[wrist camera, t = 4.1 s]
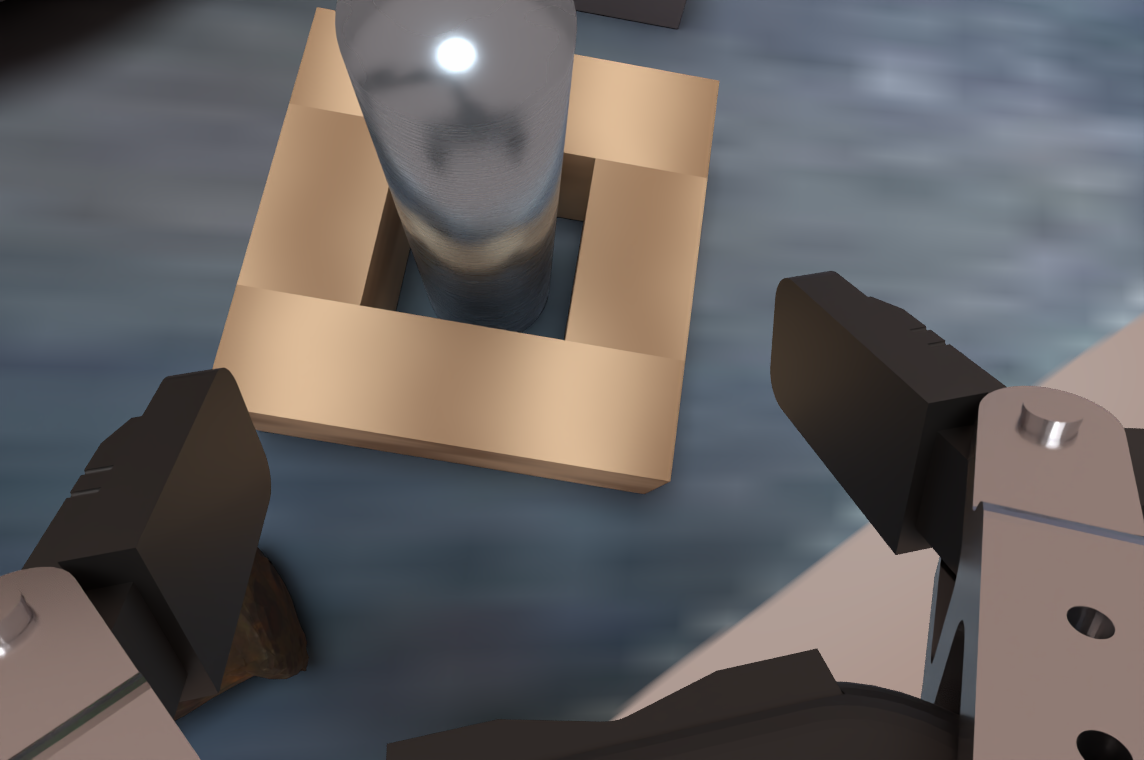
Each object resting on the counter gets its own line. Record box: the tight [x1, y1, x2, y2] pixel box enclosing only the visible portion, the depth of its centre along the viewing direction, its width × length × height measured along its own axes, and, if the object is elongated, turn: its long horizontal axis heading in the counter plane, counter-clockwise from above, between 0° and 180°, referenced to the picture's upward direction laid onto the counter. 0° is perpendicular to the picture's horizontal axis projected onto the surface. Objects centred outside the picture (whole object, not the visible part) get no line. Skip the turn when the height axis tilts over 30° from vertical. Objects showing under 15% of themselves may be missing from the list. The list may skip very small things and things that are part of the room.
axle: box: [335, 0, 577, 333], centre depth 18 cm, size 4×4×12 cm
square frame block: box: [213, 7, 719, 494], centre depth 22 cm, size 12×12×4 cm
